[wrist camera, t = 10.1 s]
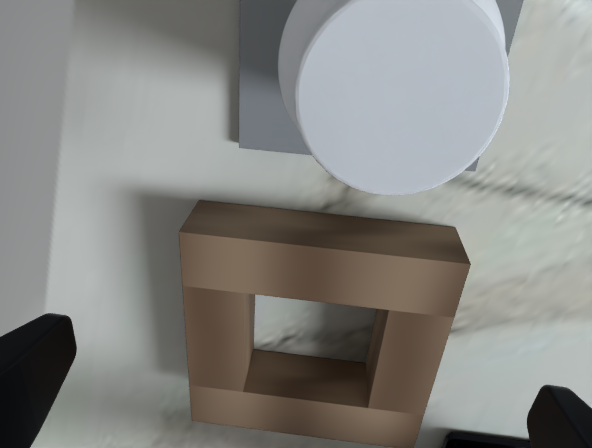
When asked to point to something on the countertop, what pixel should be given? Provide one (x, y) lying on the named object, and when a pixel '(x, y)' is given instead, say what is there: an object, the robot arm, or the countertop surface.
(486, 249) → the countertop surface
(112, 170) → the countertop surface
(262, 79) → the grey rubber mat
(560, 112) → the countertop surface
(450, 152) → the supplement bottle
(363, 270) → the walnut open tray
